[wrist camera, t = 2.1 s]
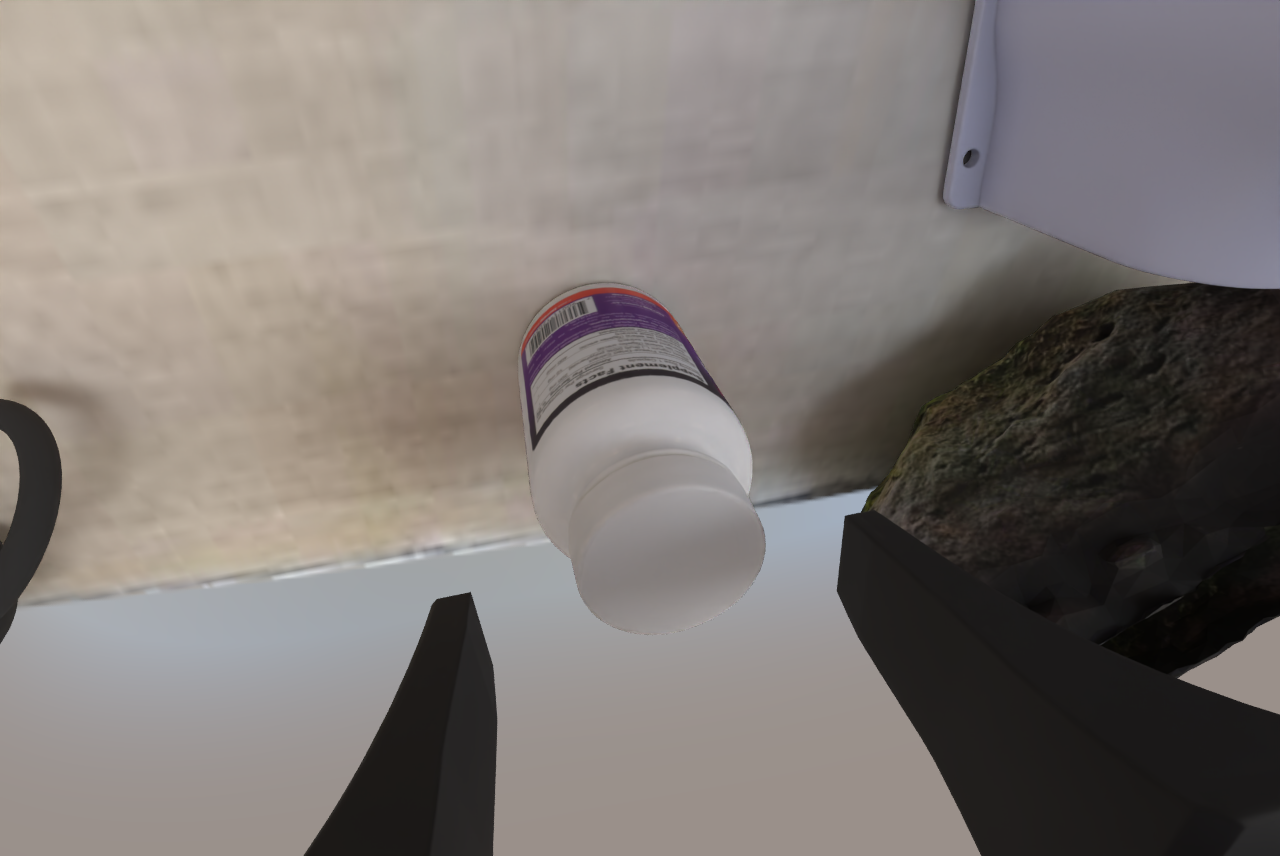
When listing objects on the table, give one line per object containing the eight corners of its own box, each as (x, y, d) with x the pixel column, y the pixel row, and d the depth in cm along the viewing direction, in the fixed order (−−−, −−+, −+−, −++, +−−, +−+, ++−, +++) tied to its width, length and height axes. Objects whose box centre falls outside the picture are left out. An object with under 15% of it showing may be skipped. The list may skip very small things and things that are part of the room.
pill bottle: (670, 430, 24) (768, 651, 16) (514, 430, 23) (533, 669, 14) (695, 281, 21) (829, 455, 13) (519, 272, 20) (545, 458, 12)
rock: (855, 829, 22) (728, 575, 29) (1230, 673, 29) (1062, 496, 36) (1328, 477, 10) (920, 163, 16) (1783, 352, 17) (1376, 166, 23)
